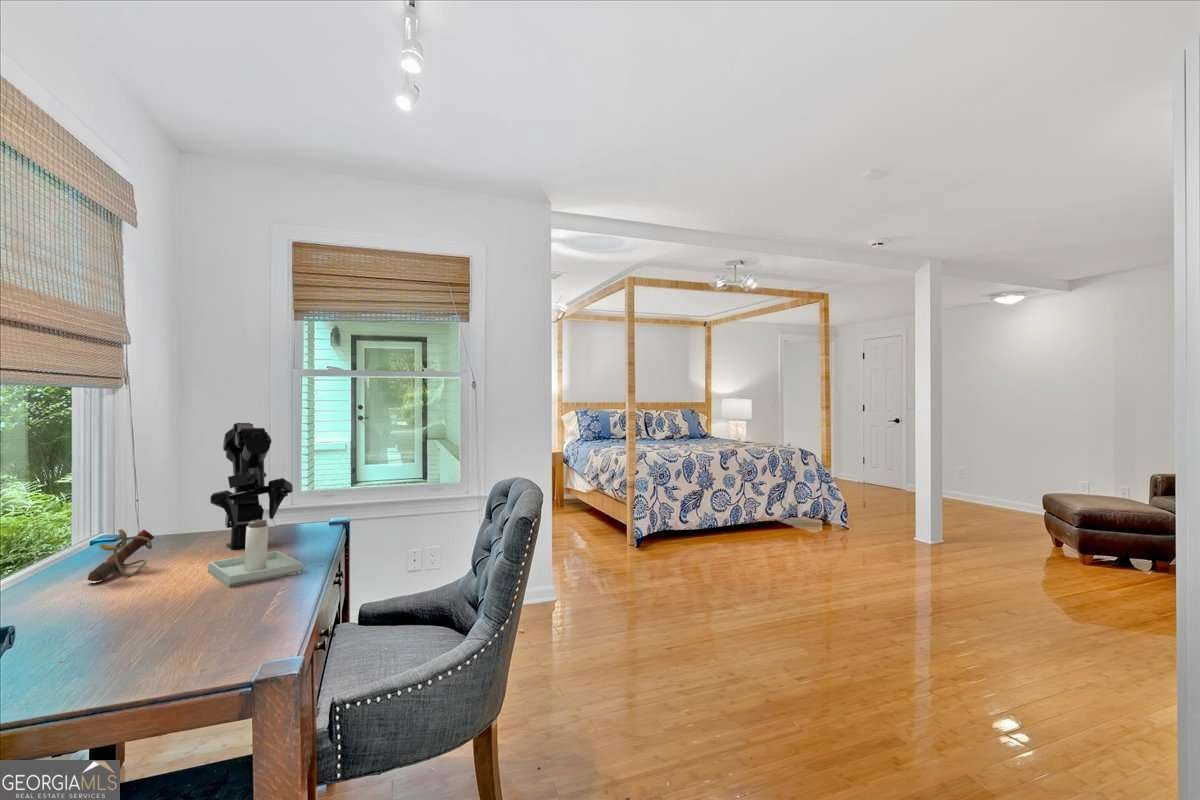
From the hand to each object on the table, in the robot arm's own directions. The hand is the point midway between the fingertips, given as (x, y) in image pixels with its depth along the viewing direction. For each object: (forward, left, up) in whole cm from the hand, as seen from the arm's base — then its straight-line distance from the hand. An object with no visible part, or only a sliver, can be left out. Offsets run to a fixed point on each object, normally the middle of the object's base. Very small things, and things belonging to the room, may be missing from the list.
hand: (253, 523), depth 146 cm
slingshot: (-10, -24, -11) cm, 28 cm away
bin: (+10, -2, -11) cm, 15 cm away
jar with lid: (+10, -2, -10) cm, 14 cm away
